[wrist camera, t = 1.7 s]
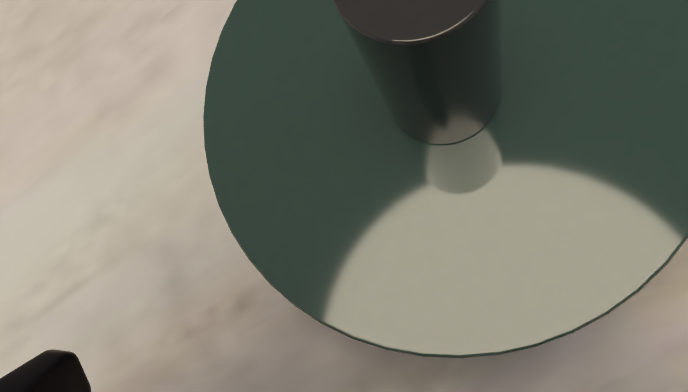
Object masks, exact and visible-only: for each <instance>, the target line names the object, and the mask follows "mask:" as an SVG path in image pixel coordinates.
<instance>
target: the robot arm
mask: <svg viewBox="0 0 688 392" xmlns="http://www.w3.org/2000/svg"><path fill="white" fill-rule="evenodd" d="M0 392H91V387H90V384H89V382H88V379H87V377H86V375H85V373H84V370H83V368H82V366H81V364H80V361H79V359H78V357H77V356H76V355H75V354H74V353H72V352H68V351H61V350H47V351H45V352H43V353H41V354H40V355H38V356H36V357H35V358H33V359H31V360H30V361H28V362H27V363H25V364H23V365H22V366H20V367H18V368H17V369H15V370H14V371H12V372H10V373H9V374H7V375H5V376H4V377H2V378H1V379H0Z"/></svg>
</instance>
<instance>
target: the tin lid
mask: <svg viewBox="0 0 688 392" xmlns="http://www.w3.org/2000/svg"><path fill="white" fill-rule="evenodd" d="M204 141H205V151H206V157H207V163H208V169H209V174H210V179H211V182H212V185H213V188H214V191H215V195H216V198H217V201H218V204H219V207H220V209H221V211H222V213H223V215H224V217H225V220H226V222H227V224H228V226H229V228H230V230H231V232H232V234H233V236H234V237H235V239H236V240H237V242H238V244H239V245H240V247H241V248H242V250H243V251H244V253H245V254H246V256H247V257H248V259H249V260H250V261H251V263H252V264H253V265H254V266H255V267H256V268H257V270H258V271H259V272H260V273H261V274H262V275H263V277H264V278H265V279H266V280H267V281H268V282H269V284H271V285H272V286H273V287H274V288H275V289H276V290H277V291H278V292H280V293H281V294H282V295H283V296H284V297H285V298H286V299H288V300H289V301H290V302H291V303H292V304H293V305H294V306H296V307H297V308H299V309H300V310H302V311H303V312H305V313H306V314H308V315H309V316H311V317H312V318H314V319H315V320H317V321H318V322H320V323H322V324H323V325H325V326H327V327H329V328H332V329H334V330H336V331H338V332H340V333H342V334H344V335H346V336H348V337H350V338H352V339H355V340H358V341H361V342H364V343H367V344H370V345H373V346H376V347H379V348H382V349H386V350H390V351H395V352H401V353H406V354H412V355H417V356H423V357H443V358H469V357H481V356H492V355H500V354H505V353H509V352H514V351H518V350H523V349H527V348H532V347H536V346H539V345H541V344H544V343H547V342H550V341H552V340H555V339H558V338H560V337H563V336H566V335H568V334H571V333H574V332H575V331H577V330H579V329H581V328H583V327H585V326H587V325H588V324H590V323H592V322H594V321H596V320H598V319H600V318H602V317H603V316H605V315H607V314H609V313H610V312H611V311H613V310H614V309H616V308H617V307H618V306H620V305H621V304H622V303H624V302H625V301H627V300H628V299H629V298H631V297H632V296H633V295H635V294H636V293H638V292H639V291H640V290H641V289H642V288H643V287H644V286H645V285H646V284H647V283H648V282H649V281H650V280H652V279H653V278H654V277H655V276H656V275H657V274H658V273H659V272H660V271H661V270H662V269H663V268H664V267H665V266H666V265H667V264H668V263H669V262H670V260H671V259H672V258H673V256H674V255H675V254H676V253H677V251H678V250H679V249H680V247H681V246H682V245H683V244H684V242H685V241H686V240H687V238H688V0H237V1H236V3H235V4H234V7H233V9H232V11H231V13H230V15H229V17H228V19H227V21H226V23H225V25H224V27H223V29H222V32H221V35H220V38H219V40H218V43H217V46H216V49H215V52H214V55H213V58H212V62H211V67H210V71H209V76H208V81H207V86H206V94H205V106H204Z"/></svg>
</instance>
